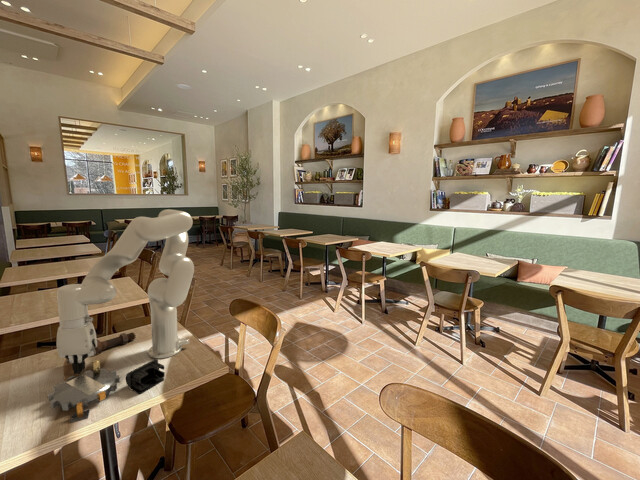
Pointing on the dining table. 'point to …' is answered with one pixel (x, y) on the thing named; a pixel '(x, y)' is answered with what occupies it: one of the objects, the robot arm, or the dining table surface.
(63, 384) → the sprocket
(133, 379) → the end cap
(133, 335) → the bolt
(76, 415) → the sprocket stand
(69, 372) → the tan block with disc
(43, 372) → the dining table surface
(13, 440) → the dining table surface
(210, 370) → the dining table surface
